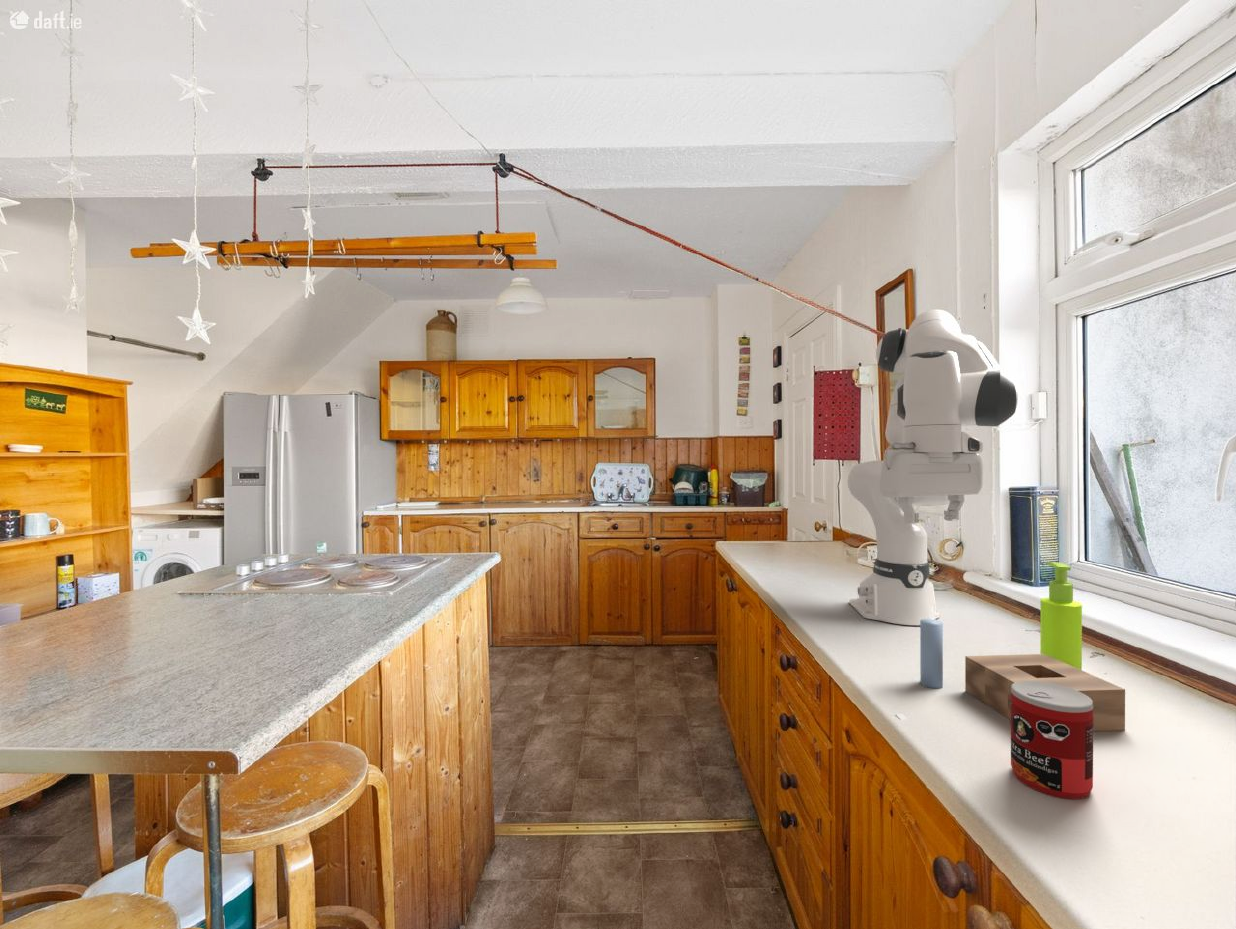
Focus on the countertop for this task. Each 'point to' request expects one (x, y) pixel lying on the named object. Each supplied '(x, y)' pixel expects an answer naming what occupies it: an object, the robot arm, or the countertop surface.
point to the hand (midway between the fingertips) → (931, 521)
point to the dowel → (931, 653)
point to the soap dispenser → (1061, 620)
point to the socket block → (999, 672)
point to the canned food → (1052, 738)
